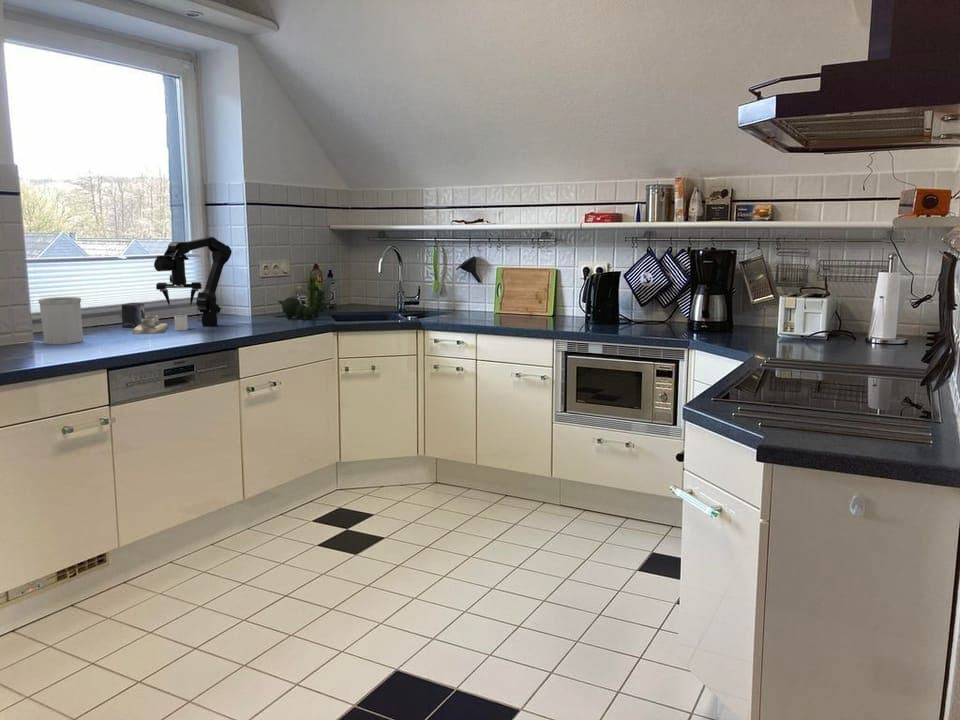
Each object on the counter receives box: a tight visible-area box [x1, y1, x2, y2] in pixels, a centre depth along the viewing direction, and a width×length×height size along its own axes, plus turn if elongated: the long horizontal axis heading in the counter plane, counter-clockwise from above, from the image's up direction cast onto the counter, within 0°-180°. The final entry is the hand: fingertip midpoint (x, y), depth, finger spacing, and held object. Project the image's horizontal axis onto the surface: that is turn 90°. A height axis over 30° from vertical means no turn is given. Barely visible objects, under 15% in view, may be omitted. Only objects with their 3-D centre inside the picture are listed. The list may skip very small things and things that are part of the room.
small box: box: [121, 302, 146, 328], centre depth 358 cm, size 11×6×10 cm, turn 179°
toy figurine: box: [277, 284, 326, 321], centre depth 390 cm, size 9×19×25 cm
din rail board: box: [132, 314, 168, 335], centre depth 345 cm, size 12×22×6 cm, turn 17°
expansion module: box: [173, 314, 189, 331], centre depth 348 cm, size 5×6×6 cm
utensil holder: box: [38, 296, 84, 345], centre depth 306 cm, size 15×15×18 cm
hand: (180, 305), depth 347 cm, fingers open, 9 cm apart
